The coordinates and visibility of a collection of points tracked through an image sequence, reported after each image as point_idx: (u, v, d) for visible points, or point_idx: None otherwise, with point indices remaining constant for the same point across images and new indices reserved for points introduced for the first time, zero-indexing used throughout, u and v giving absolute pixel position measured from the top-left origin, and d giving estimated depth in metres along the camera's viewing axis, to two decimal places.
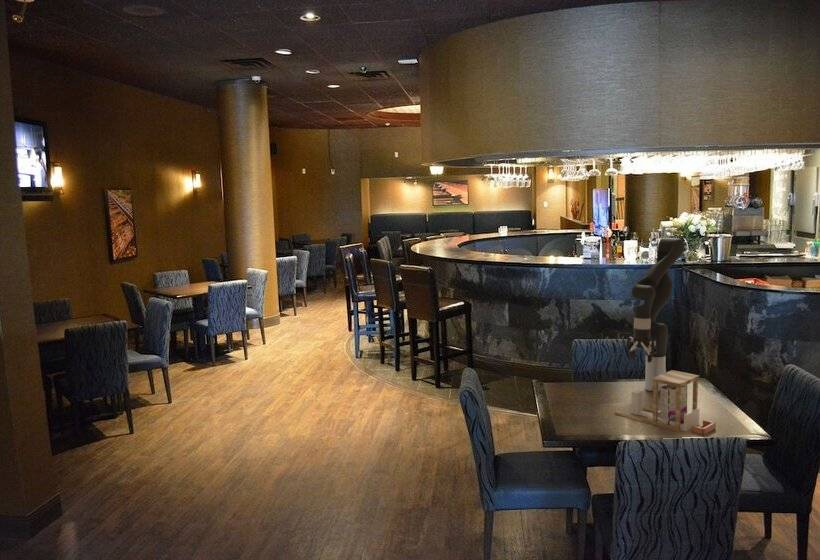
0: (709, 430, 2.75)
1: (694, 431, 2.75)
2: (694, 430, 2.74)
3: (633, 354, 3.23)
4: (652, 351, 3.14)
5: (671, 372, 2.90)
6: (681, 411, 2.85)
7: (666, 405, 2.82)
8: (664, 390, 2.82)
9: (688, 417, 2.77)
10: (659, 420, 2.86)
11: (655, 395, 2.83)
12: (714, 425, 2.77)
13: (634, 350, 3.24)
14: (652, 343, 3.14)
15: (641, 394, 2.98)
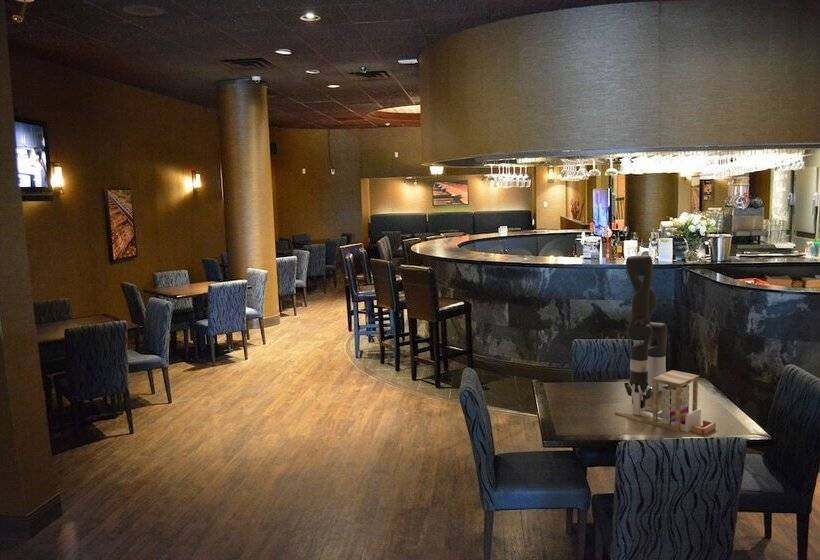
0: (709, 430, 2.75)
1: (694, 431, 2.75)
2: (694, 430, 2.74)
3: None
4: (645, 396, 2.94)
5: (671, 372, 2.90)
6: (683, 411, 2.84)
7: (667, 406, 2.82)
8: (666, 390, 2.81)
9: (690, 417, 2.77)
10: (661, 420, 2.85)
11: (655, 395, 2.83)
12: (714, 425, 2.77)
13: None
14: (649, 390, 2.92)
15: None
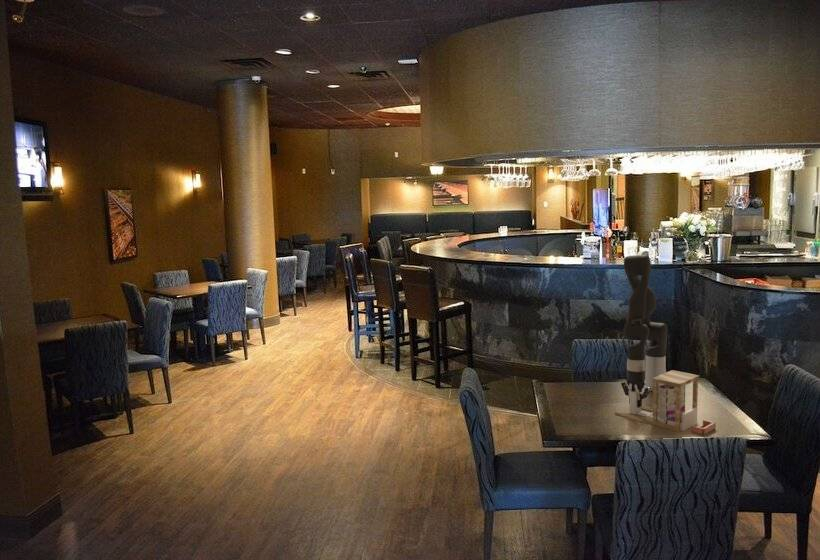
0: (709, 430, 2.75)
1: (694, 431, 2.75)
2: (694, 430, 2.74)
3: None
4: (642, 396, 2.96)
5: (671, 372, 2.90)
6: None
7: (664, 405, 2.83)
8: (662, 390, 2.83)
9: (686, 416, 2.78)
10: None
11: (655, 395, 2.83)
12: (714, 425, 2.77)
13: None
14: (646, 389, 2.94)
15: None
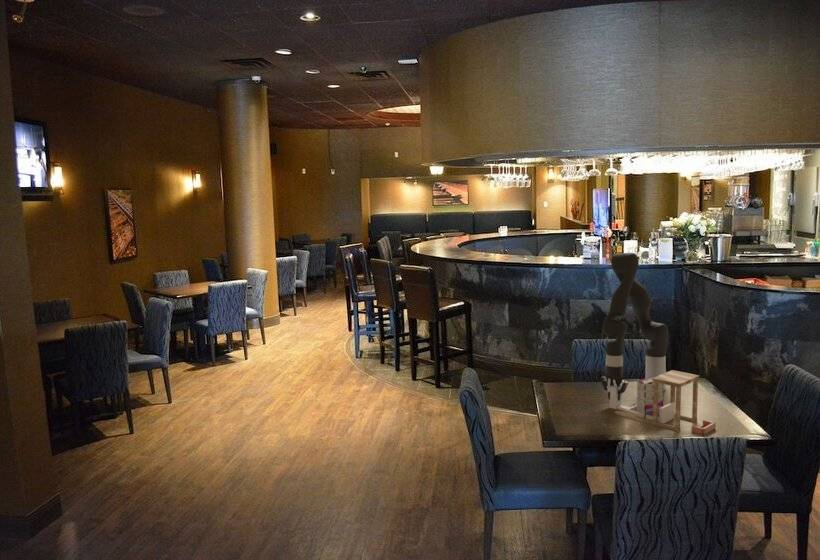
0: (709, 430, 2.75)
1: (694, 431, 2.75)
2: (694, 430, 2.74)
3: None
4: (620, 390, 3.04)
5: (671, 372, 2.90)
6: None
7: (642, 399, 2.90)
8: (641, 384, 2.90)
9: (663, 411, 2.86)
10: (636, 414, 2.94)
11: (655, 395, 2.83)
12: (714, 425, 2.77)
13: None
14: (624, 384, 3.02)
15: (619, 389, 3.06)
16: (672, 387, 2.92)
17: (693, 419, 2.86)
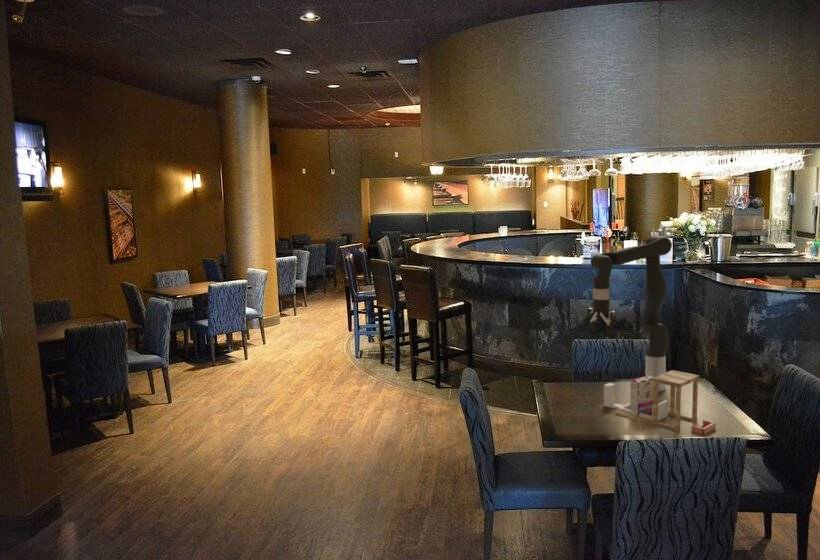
0: (709, 430, 2.75)
1: (694, 431, 2.75)
2: (694, 430, 2.74)
3: (593, 325, 3.21)
4: (611, 321, 3.12)
5: (671, 372, 2.90)
6: (650, 403, 2.95)
7: (635, 398, 2.93)
8: (634, 383, 2.93)
9: None
10: (629, 412, 2.96)
11: (655, 395, 2.83)
12: (714, 425, 2.77)
13: (594, 321, 3.22)
14: (611, 313, 3.11)
15: (613, 387, 3.08)
16: (672, 387, 2.92)
17: (693, 419, 2.86)
